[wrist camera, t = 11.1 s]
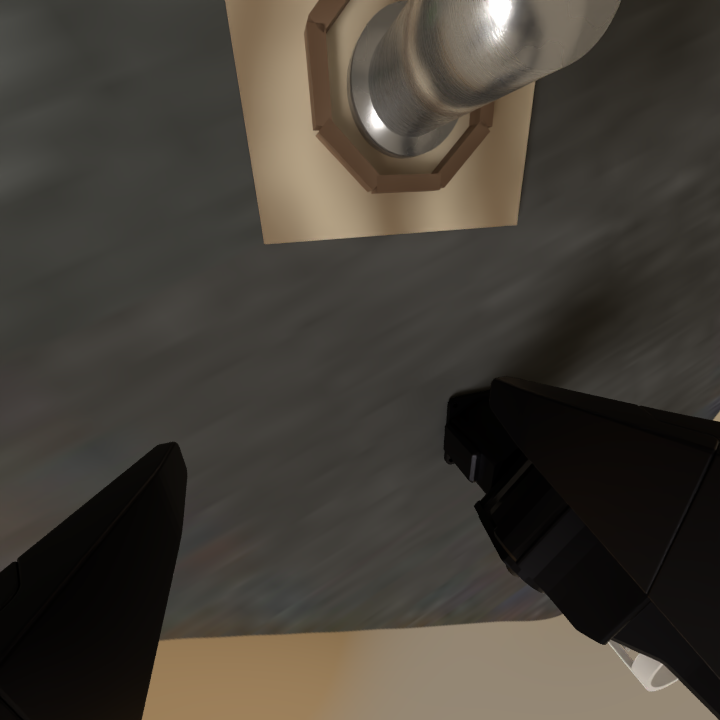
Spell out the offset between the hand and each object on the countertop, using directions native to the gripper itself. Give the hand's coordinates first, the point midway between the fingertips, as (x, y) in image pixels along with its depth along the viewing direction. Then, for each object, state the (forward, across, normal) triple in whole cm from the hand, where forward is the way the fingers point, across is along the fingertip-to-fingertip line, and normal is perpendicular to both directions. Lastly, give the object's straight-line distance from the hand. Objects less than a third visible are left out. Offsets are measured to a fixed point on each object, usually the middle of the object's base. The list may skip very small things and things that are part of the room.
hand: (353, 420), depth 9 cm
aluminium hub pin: (+12, -7, -11) cm, 17 cm away
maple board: (+13, -6, -11) cm, 18 cm away
